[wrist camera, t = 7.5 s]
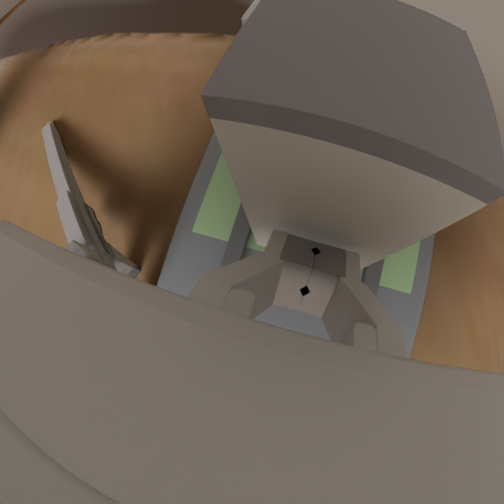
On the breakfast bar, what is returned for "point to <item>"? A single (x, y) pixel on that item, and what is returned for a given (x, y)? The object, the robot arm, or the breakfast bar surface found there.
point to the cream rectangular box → (355, 124)
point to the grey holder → (244, 245)
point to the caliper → (79, 211)
